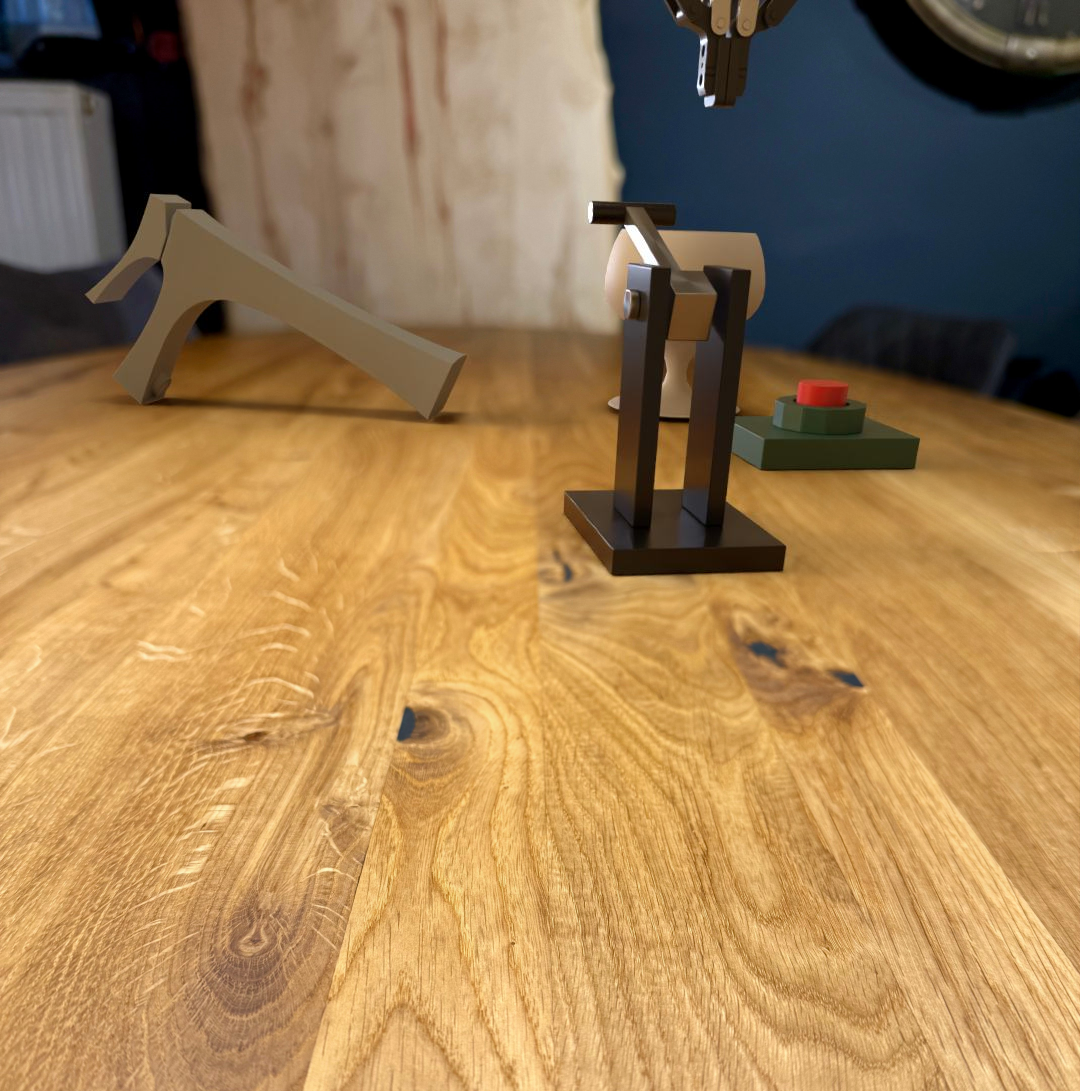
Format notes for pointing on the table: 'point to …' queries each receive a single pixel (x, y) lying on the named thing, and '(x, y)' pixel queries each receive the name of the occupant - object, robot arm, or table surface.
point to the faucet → (262, 283)
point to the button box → (821, 439)
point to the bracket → (700, 507)
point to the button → (822, 393)
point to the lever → (664, 265)
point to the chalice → (690, 256)
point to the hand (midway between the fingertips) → (719, 106)
